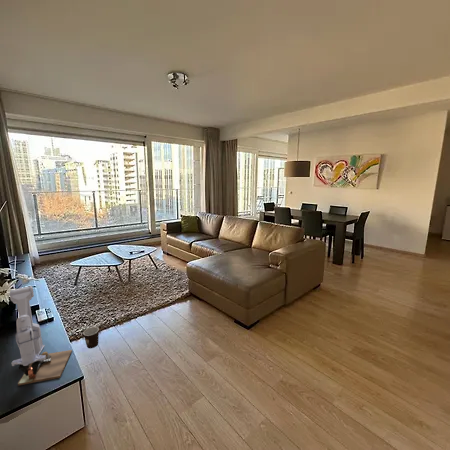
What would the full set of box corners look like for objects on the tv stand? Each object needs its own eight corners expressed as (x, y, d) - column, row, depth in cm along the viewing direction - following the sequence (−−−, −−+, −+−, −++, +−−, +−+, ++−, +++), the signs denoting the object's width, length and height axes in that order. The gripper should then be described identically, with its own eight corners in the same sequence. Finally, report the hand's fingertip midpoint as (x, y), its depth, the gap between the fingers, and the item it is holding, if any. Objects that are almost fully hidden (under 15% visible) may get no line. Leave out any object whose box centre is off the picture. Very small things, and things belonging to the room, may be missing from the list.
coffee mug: (102, 345, 155) (100, 331, 153) (87, 351, 149) (85, 337, 147) (96, 336, 163) (94, 323, 161) (81, 342, 157) (80, 328, 155)
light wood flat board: (35, 357, 144) (34, 350, 143) (72, 351, 149) (71, 344, 148) (17, 385, 125) (16, 378, 124) (60, 378, 130) (58, 370, 129)
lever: (38, 360, 140) (36, 353, 139) (52, 358, 142) (51, 350, 141) (26, 380, 127) (24, 371, 126) (42, 377, 129) (40, 368, 128)
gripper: (6, 360, 120) (11, 383, 123) (40, 354, 124) (44, 377, 127) (14, 350, 127) (18, 372, 130) (46, 345, 131) (50, 366, 133)
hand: (31, 373), depth 129 cm, fingers closed on lever, 3 cm apart
